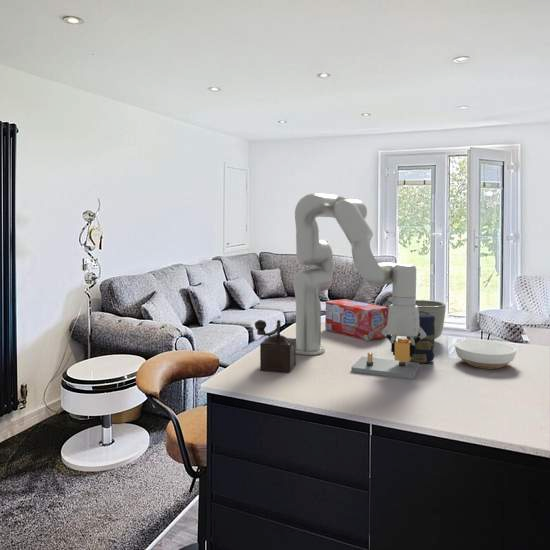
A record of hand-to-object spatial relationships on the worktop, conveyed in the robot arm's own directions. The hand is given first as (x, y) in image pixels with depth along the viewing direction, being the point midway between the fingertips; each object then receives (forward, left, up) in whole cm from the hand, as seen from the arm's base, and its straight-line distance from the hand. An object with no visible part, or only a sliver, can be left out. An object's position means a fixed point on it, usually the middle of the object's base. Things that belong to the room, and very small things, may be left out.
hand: (403, 354), depth 161 cm
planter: (+1, +42, -5) cm, 42 cm away
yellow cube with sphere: (0, 0, -2) cm, 2 cm away
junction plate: (-5, -2, -5) cm, 8 cm away
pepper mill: (-39, -17, -5) cm, 43 cm away
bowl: (+25, +18, -5) cm, 31 cm away
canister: (+4, +13, -5) cm, 15 cm away
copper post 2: (0, 0, -5) cm, 5 cm away
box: (-28, +45, -6) cm, 53 cm away
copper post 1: (-10, -4, -5) cm, 12 cm away
